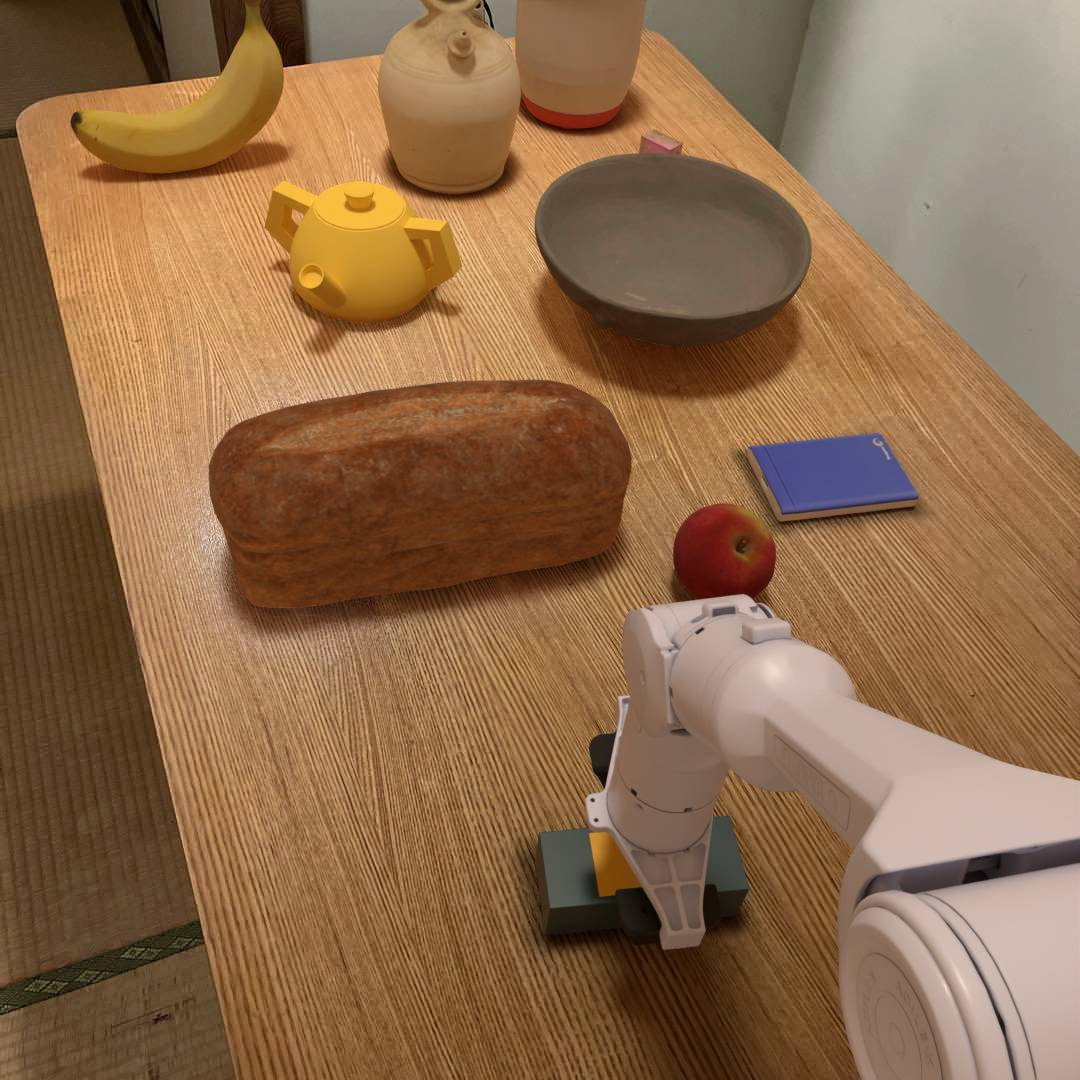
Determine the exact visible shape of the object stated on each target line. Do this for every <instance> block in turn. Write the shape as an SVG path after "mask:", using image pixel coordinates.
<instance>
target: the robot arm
mask: <svg viewBox="0 0 1080 1080" xmlns="http://www.w3.org/2000/svg"><path fill="white" fill-rule="evenodd" d="M621 637H622V638H621V639H622V640H621V641H622V642H621V643H622V645H621V646H622V648H621V649H622V662H623V671H624V677H625V683H626V687H627V693H628V695H618V696H617V698H616V699H617V700H616V704H615V709H614V712H613V716H614V720H615V725H616V730H615V731H614V732H611V733H600V734H598V735H595V736H594V737H593V738H592V739H591V740H590V742H589V744H588V745H589V746H588V753H589V757H590V763H591V767H592V772H593V774H594V775H595V776H596V777H597V779H598V780H599V782H600V783H601V785H602V787H603V790H602V791H599V792H593V793H590V794H587V796H586V797H585V801H584V810H585V811H584V812H585V817H586V822H587V826H588V827H587V828H589V829H590V830H592V831H593V832H597V833H600V832H606V833H609V834H610V835H611V836H612V837H613V839H614V841H615V842H616V844H617V846H618V847H619V849H620V851H621V852H622V854H623V856H624V857H625V859H626V861H627V863H628V864H629V866H630V868H631V869H632V871H633V873H634V874H635V876H636V878H637V879H638V881H639V883H640V884H641V886H642V887H637V888H627V889H617V890H616V891H615V895H616V900H617V906H618V911H619V917H620V921H621V925H622V927H623V928H622V929H623V931H624V933H625V935H626V936H629V939H630V942H631V945H633V946H634V947H639V946H649V945H658V944H660V945H661V948H662V950H665V951H666V950H675V949H685V948H692V947H699V946H700V945H701V943H702V940H703V938H704V936H705V934H706V932H707V931H706V929H712V928H716V927H718V926H719V924H720V921H721V919H722V918H721V916H722V908H721V904H720V899H719V895H718V891H717V887H716V885H715V884H707V885H705V878H706V870H707V862H708V854H709V846H710V838H711V830H712V822H713V817H714V809H715V807H716V805H717V802H718V799H719V796H720V794H721V791H722V789H723V786H724V784H725V781H726V779H727V777H728V774H729V771H730V770H731V771H732V772H733V773H734V774H735V775H736V776H738V777H739V778H740V779H742V780H743V782H746V784H749V785H750V786H753V787H755V788H757V789H760V790H763V791H768V792H771V793H773V792H775V793H791V792H798V793H799V794H800V795H801V796H802V798H804V799H805V800H806V802H807V803H808V804H809V805H810V806H811V807H812V808H813V809H814V810H815V812H817V814H818V815H820V817H821V818H822V819H823V820H824V821H825V822H826V823H827V824H828V825H829V826H830V827H831V828H832V829H833V831H834V832H835V833H836V834H837V835H838V836H839V838H841V839H842V840H843V841H844V842H845V844H846V845H848V846H849V848H850V849H851V851H852V853H851V855H850V857H849V858H848V863H847V864H846V867H845V870H844V874H843V877H842V880H841V881H842V882H841V886H840V890H839V897H838V904H837V917H836V918H837V919H836V920H837V923H836V927H837V928H836V930H837V931H836V934H837V935H836V936H837V952H838V953H837V954H838V989H839V999H840V1000H839V1001H840V1007H841V1013H842V1018H843V1024H844V1027H845V1032H846V1036H847V1040H848V1044H849V1048H850V1051H851V1054H852V1057H853V1060H854V1064H855V1066H856V1069H857V1072H858V1075H859V1077H860V1080H1080V780H1078V779H1073V778H1070V777H1065V776H1061V775H1056V774H1052V773H1048V772H1044V771H1039V770H1035V769H1032V768H1031V769H1030V768H1027V767H1024V766H1020V765H1019V766H1018V765H1015V764H1011V763H1008V762H1005V761H1001V760H999V759H996V758H994V757H991V756H989V755H986V754H984V753H981V752H979V751H977V750H974V749H972V748H969V747H967V746H964V745H962V744H960V743H957V742H955V741H953V740H951V739H948V738H945V737H943V736H941V735H939V734H936V733H934V732H931V731H929V730H926V729H924V728H922V727H920V726H917V725H914V724H912V723H910V722H907V721H905V720H903V719H900V718H898V717H896V716H893V715H892V714H891V715H890V714H888V713H886V712H884V711H881V710H879V709H876V708H874V707H871V706H869V705H867V704H864V703H862V702H860V701H858V696H857V692H856V689H855V686H854V683H853V682H852V679H851V677H850V675H849V673H848V672H847V671H846V670H845V668H844V667H843V665H841V663H840V662H838V661H837V660H836V659H835V658H833V657H832V656H831V655H830V654H829V653H827V652H825V651H824V650H821V649H818V648H817V647H815V646H813V645H811V644H809V643H807V642H804V641H802V640H800V639H799V638H797V637H794V636H793V635H792V625H791V623H789V622H788V621H786V620H784V619H781V618H780V617H776V615H775V613H774V612H773V611H772V609H771V608H770V607H769V606H768V605H766V604H765V603H763V602H755V601H754V599H752V598H750V597H749V596H747V595H744V594H740V595H732V596H724V597H716V598H708V599H700V600H698V599H694V600H692V599H691V600H685V601H677V602H670V603H660V604H652V605H651V604H650V605H645V606H644V607H639V608H638V609H630V610H629V611H628V612H627V613H626V615H625V618H624V621H623V627H622V636H621Z"/></svg>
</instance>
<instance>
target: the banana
mask: <svg viewBox="0 0 1080 1080" xmlns="http://www.w3.org/2000/svg"><path fill="white" fill-rule="evenodd" d="M261 2H262V0H243V3H244V5H245V13H246V14H245V16H246V17H245V23H244V28H243V32H242V34H241V36H240V37H239V39H238V41H237V43H236V44H235V46H234V48H233V51H232V52H231V54H230V56H229V59H228V61H227V62H226V65H225V67H224V68H223V70H222V72H221V73H220V75H219V77H218V78H217V79H216V80H215V82H214V83H213V84H212V85H211V86H210V87H209V89H207V90H206V91H205V92H204V93H203V94H201V96H199V97H198V98H197V99H196V100H194V101H192V102H190V103H188V104H185V105H182V106H181V107H178V108H176V109H175V108H174V109H171V110H167V111H162V112H153V113H152V112H151V113H132V112H125V111H123V112H122V111H118V110H117V111H116V110H103V109H102V110H101V109H80V110H77V111H75V112H73V113H72V115H71V117H70V120H69V121H70V122H69V123H70V127H71V129H72V131H73V133H74V135H75V137H76V138H77V141H79V143H80V144H81V145H82V146H83V147H84V148H85V150H87V151H88V152H89V153H91V155H93V156H94V157H96V158H98V159H99V160H101V161H102V162H104V163H106V164H108V165H110V166H113V167H115V168H119V169H123V170H126V171H131V172H135V173H141V174H142V173H144V174H173V173H184V172H188V171H193V170H198V169H202V168H206V167H209V166H212V165H215V164H217V163H219V162H221V161H223V160H226V159H227V158H229V157H231V156H232V155H234V154H235V153H237V152H239V150H241V149H242V148H243V147H245V146H246V145H247V144H248V143H249V142H251V140H253V138H255V136H257V135H258V134H259V133H260V132H261V130H262V129H263V128H264V127H266V125H267V123H268V122H269V121H270V119H271V118H272V117H273V114H275V112H276V110H277V107H278V105H279V103H280V100H281V98H282V95H283V91H284V82H285V77H284V76H285V74H284V73H285V72H284V71H285V70H284V65H283V59H282V55H281V53H280V50H279V48H278V46H277V44H276V42H275V40H274V39H273V37H272V36H271V34H270V32H269V31H268V30H267V28H266V26H265V24H264V22H263V19H262V16H261V11H260V10H261Z"/></svg>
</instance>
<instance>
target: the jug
mask: <svg viewBox="0 0 1080 1080" xmlns="http://www.w3.org/2000/svg"><path fill="white" fill-rule="evenodd" d="M419 1H420V2H421V3H422V5H423V7H424V8H425V12H424V13H423V15H422V16H420V17H418V18H415V19H414V20H412V21H411V22H409V23H408V24H406V25H405V26H403V27H402V28H401V29H400V30H399V31H397V32H396V33H395V34H394V35H393V36H392V37H391V39H390V41H388V42H389V43H388V44H387V46H386V48H385V50H384V53H383V55H382V58H381V60H380V65H379V70H378V76H377V92H378V99H379V103H380V109H381V113H382V118H383V122H384V126H385V131H386V134H387V135H386V136H387V139H388V144H389V147H390V152H391V154H392V157H393V160H394V163H395V164H396V168H397V170H398V172H399V173H400V175H401V176H402V177H403V179H405V180H406V181H407V182H409V183H411V184H412V185H414V186H416V187H417V188H420V189H422V190H425V191H429V192H431V193H439V194H443V195H455V196H457V195H465V194H472V193H477V192H481V191H483V190H486V189H488V188H490V187H491V186H493V185H494V184H496V183H497V182H498V181H499V180H500V179H501V177H502V176H503V174H504V170H505V164H506V161H507V159H508V157H509V153H510V149H511V145H512V140H513V136H514V132H515V128H516V123H517V119H518V116H519V110H520V107H521V105H520V104H521V99H522V98H521V97H522V93H521V86H520V76H519V71H518V67H517V63H516V57H515V56H514V55H515V54H514V53H513V51H512V49H511V47H510V45H509V44H508V42H507V41H506V39H505V38H504V37H503V36H502V35H501V34H500V33H499V32H497V31H496V30H495V29H494V28H493V27H491V26H490V25H489V24H487V23H485V22H484V21H482V20H480V19H478V18H476V17H474V16H473V14H472V12H473V10H474V9H476V7H477V6H478V5H479V4H480V3H481V2H482V0H419Z"/></svg>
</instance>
